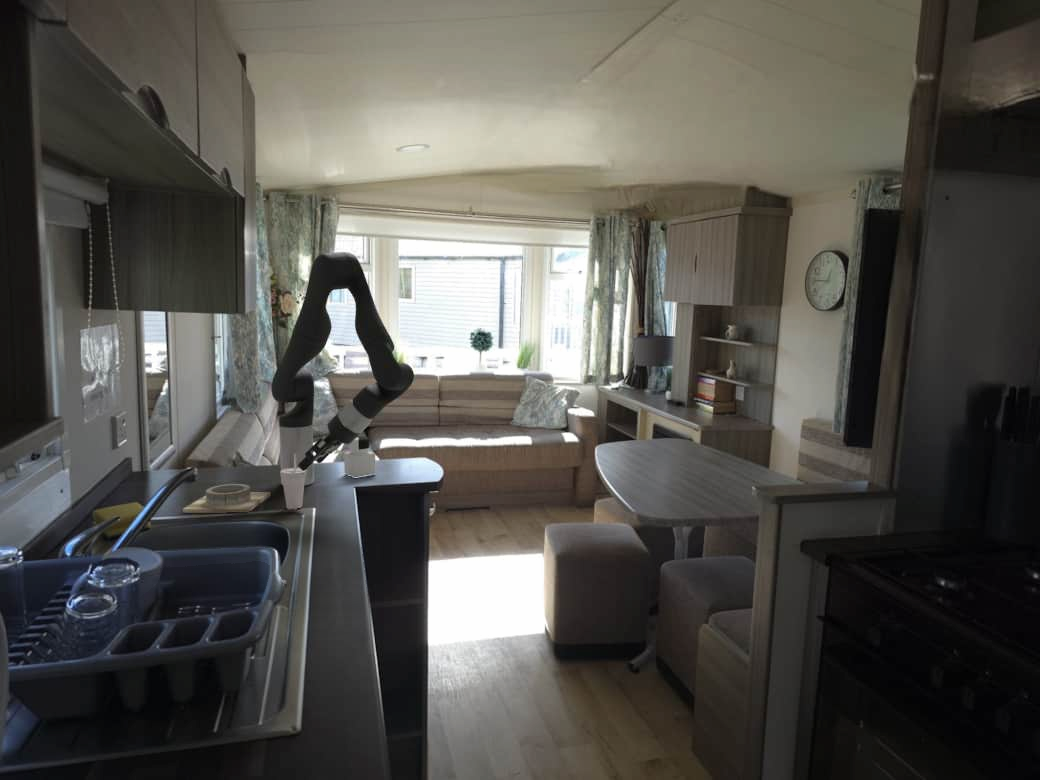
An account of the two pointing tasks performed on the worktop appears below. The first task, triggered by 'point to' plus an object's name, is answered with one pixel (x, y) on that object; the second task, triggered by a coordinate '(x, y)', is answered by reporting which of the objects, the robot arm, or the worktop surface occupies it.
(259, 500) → the collar stand
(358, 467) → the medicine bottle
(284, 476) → the smoothie
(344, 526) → the worktop surface
